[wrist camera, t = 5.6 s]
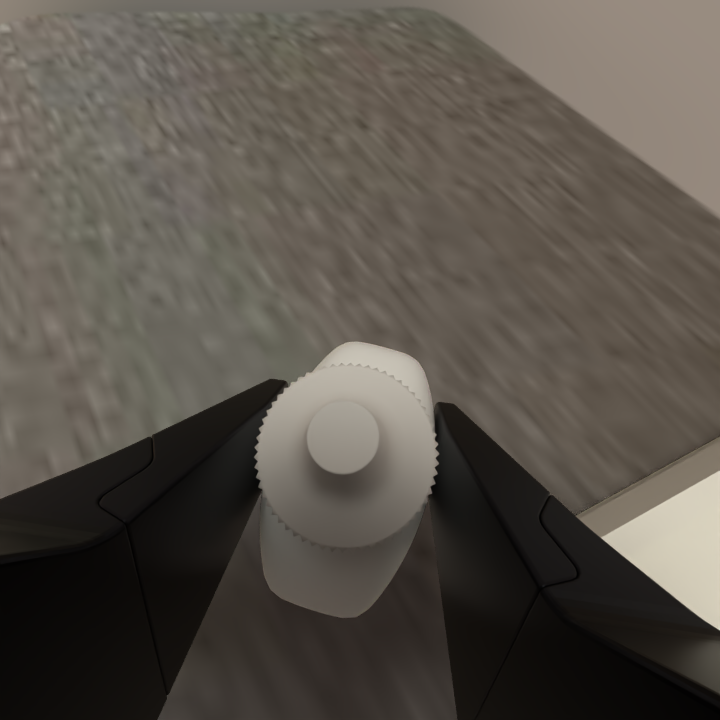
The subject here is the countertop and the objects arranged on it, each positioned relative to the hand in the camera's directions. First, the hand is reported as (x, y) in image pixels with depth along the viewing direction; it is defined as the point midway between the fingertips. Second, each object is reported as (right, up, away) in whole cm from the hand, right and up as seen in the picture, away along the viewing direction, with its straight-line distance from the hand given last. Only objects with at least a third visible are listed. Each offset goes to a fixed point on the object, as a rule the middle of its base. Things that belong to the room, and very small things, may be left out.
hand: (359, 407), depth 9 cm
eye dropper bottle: (0, -3, +6) cm, 7 cm away
